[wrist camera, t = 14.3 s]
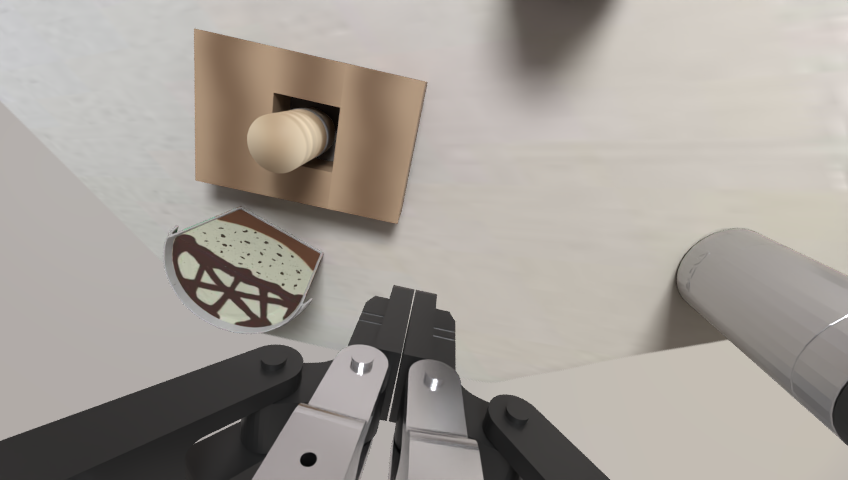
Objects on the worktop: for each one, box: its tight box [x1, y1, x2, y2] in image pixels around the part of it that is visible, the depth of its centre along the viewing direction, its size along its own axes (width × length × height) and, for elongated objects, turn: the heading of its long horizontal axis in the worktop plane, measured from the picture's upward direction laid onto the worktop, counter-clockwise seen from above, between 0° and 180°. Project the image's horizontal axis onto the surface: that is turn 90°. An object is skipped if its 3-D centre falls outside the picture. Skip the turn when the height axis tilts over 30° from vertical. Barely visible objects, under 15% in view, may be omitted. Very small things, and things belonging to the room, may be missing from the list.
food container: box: [163, 206, 323, 334], centre depth 36 cm, size 12×6×10 cm, turn 58°
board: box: [194, 29, 427, 224], centre depth 34 cm, size 18×12×4 cm, turn 78°
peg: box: [247, 107, 335, 173], centre depth 31 cm, size 4×4×10 cm
